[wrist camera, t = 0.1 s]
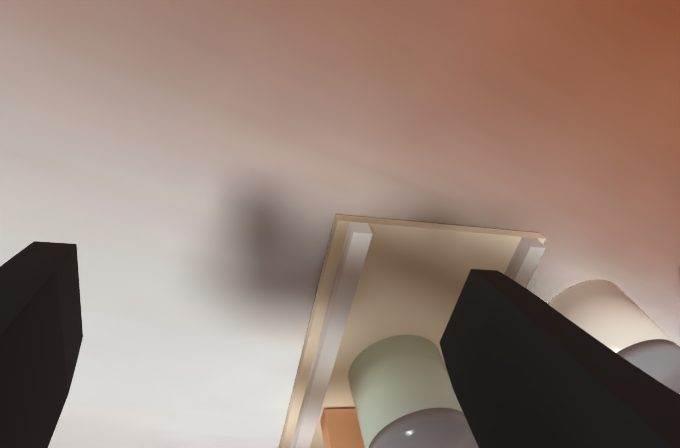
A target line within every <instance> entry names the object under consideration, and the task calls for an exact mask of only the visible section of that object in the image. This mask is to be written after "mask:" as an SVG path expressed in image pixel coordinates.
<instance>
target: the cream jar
mask: <svg viewBox="0 0 680 448" xmlns="http://www.w3.org/2000/svg"><path fill="white" fill-rule="evenodd" d="M548 305H550V306H551V307H553V308H554V309H555V310H557V311H558V312H559V313H561V314H562V315H564V316H565V317H566V318H568V319H569V320H570V321H572V322H573V323H575V324H576V325H577V326H579V327H580V328H582V329H583V330H584V331H586V332H587V333H588V334H590V335H591V336H593V337H594V338H596V339H597V340H598V341H600V342H601V343H603V344H604V345H605V346H607V347H608V348H610V349H611V350H613V351H614V352H616V353H617V354H618V355H620V356H621V357H623V358H624V359H626V360H627V361H629V362H630V363H632V364H633V365H635V366H636V367H638V368H639V369H641V370H642V371H644V372H645V373H647V374H648V375H650V376H651V377H653V378H654V379H656V380H657V381H659V382H660V383H662V384H664V385H665V386H667V387H668V388H670V389H672V390H673V391H675V392H676V393H678V394H679V393H680V347H679V346H678V345H677V344H676V343H675V342H674V341H673V340H672V339H671V338H670V337H669V336H668V335H667V334H666V333H665V332H664V331H663V330H662V329H661V328H660V327H659V326H658V325H657V324H656V323H655V322H654V321H653V320H652V319H651V318H650V317H649V316H648V315H647V314H646V313H645V312H644V311H643V310H641V309H640V308H639V307H638V306H637V305H636V304H635V303H634V302H633V301H632V300H631V299H630V298H629V297H628V296H627V295H626V294H625V293H624V292H623V291H622V290H621V289H620V288H619V287H618V286H617V285H616V284H614V283H612V282H610V281H607V280H589V281H585V282H581V283H578V284H576V285H573V286H571V287H569V288H568V289H566V290H564V291H563V292H561V293H560V294H558V295H557V296H556V297H555V298H553V299H552V300H551V301H550V302H549V303H548Z"/></svg>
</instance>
